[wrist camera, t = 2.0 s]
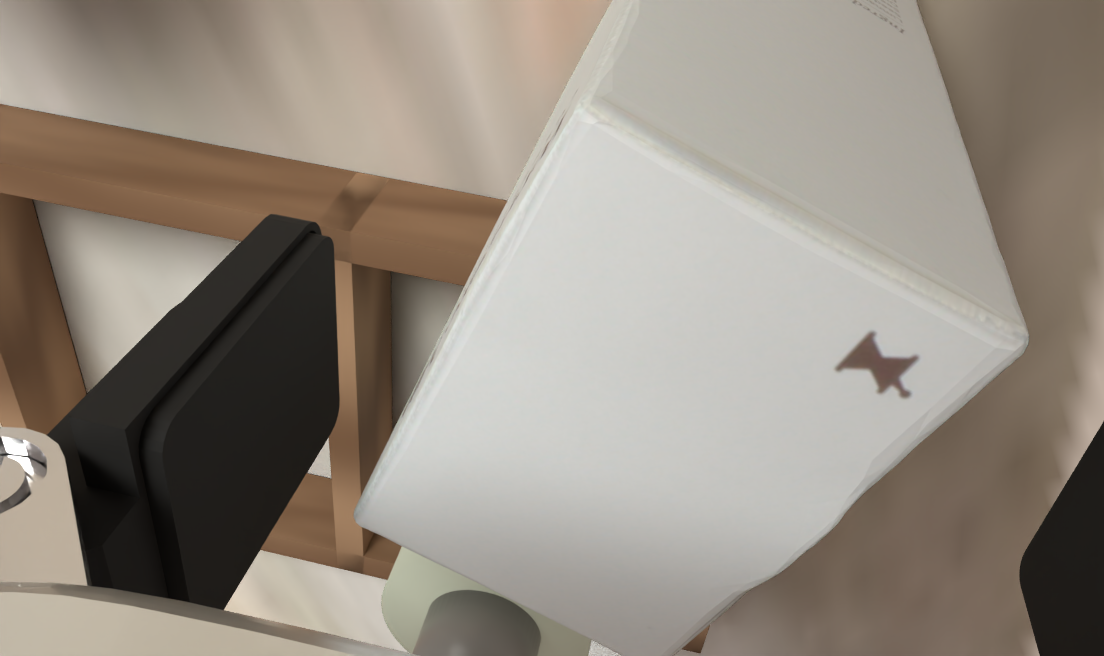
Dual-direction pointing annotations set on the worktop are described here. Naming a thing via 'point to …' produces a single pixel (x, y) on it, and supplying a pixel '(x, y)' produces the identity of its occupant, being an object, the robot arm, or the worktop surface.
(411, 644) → the sage bottle
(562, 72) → the worktop surface
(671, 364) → the skincare box
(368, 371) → the wooden frame
